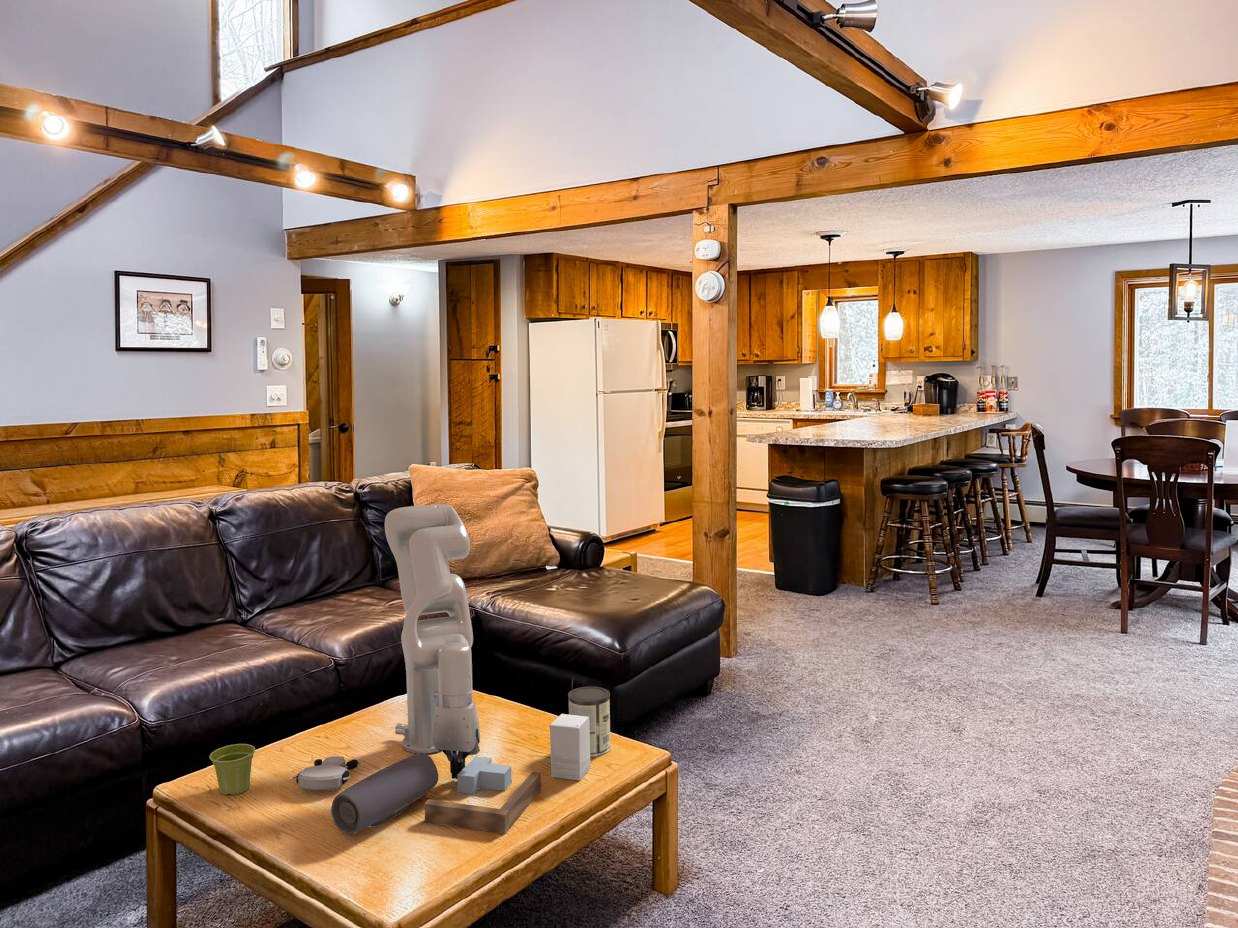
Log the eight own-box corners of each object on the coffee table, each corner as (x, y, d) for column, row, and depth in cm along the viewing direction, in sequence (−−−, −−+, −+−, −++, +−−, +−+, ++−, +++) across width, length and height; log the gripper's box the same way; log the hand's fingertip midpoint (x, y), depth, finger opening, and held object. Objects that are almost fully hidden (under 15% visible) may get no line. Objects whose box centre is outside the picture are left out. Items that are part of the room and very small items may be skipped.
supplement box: (591, 768, 212) (590, 716, 211) (579, 781, 205) (579, 727, 204) (562, 764, 214) (561, 712, 213) (549, 777, 208) (549, 724, 206)
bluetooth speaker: (409, 789, 202) (408, 746, 201) (441, 798, 197) (439, 754, 196) (329, 833, 183) (327, 786, 182) (362, 845, 178) (360, 797, 177)
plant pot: (223, 803, 196) (220, 764, 195) (204, 790, 202) (202, 752, 201) (264, 788, 203) (262, 751, 202) (245, 776, 209) (243, 740, 208)
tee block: (457, 792, 200) (457, 774, 200) (475, 772, 210) (475, 756, 210) (500, 796, 198) (499, 779, 198) (516, 777, 208) (515, 760, 207)
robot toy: (313, 771, 214) (288, 796, 199) (313, 752, 214) (288, 776, 199) (365, 772, 213) (343, 797, 198) (365, 753, 213) (343, 776, 198)
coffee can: (572, 739, 229) (571, 685, 227) (612, 740, 228) (612, 686, 226) (565, 756, 219) (564, 700, 217) (608, 758, 218) (607, 701, 216)
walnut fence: (424, 821, 187) (424, 803, 187) (467, 780, 206) (467, 763, 206) (505, 833, 182) (504, 814, 182) (541, 789, 201) (540, 772, 201)
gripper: (417, 700, 202) (420, 779, 204) (478, 707, 198) (480, 787, 200) (434, 689, 209) (436, 765, 211) (493, 695, 205) (495, 773, 207)
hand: (457, 776), depth 205 cm, fingers closed
